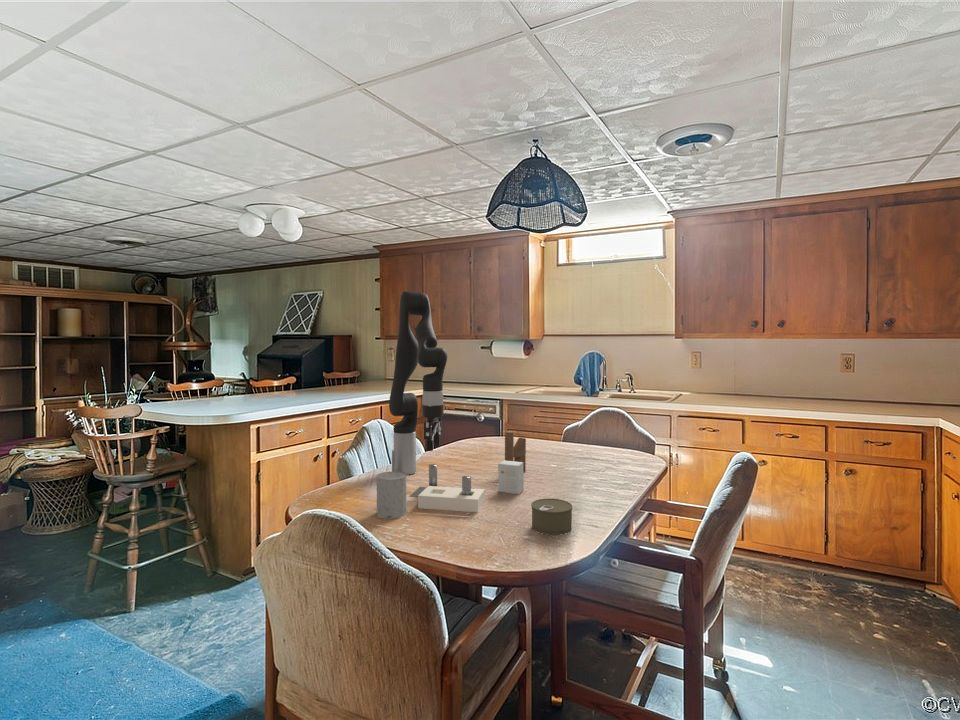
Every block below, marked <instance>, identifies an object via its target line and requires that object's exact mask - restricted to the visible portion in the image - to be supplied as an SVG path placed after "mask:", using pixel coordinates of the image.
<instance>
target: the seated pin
mask: <svg viewBox="0 0 960 720" xmlns="http://www.w3.org/2000/svg"><path fill="white" fill-rule="evenodd" d="M461 488H462V495H466V496H471V489H472V476H471V475H463V476H462V477H461Z"/></svg>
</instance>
